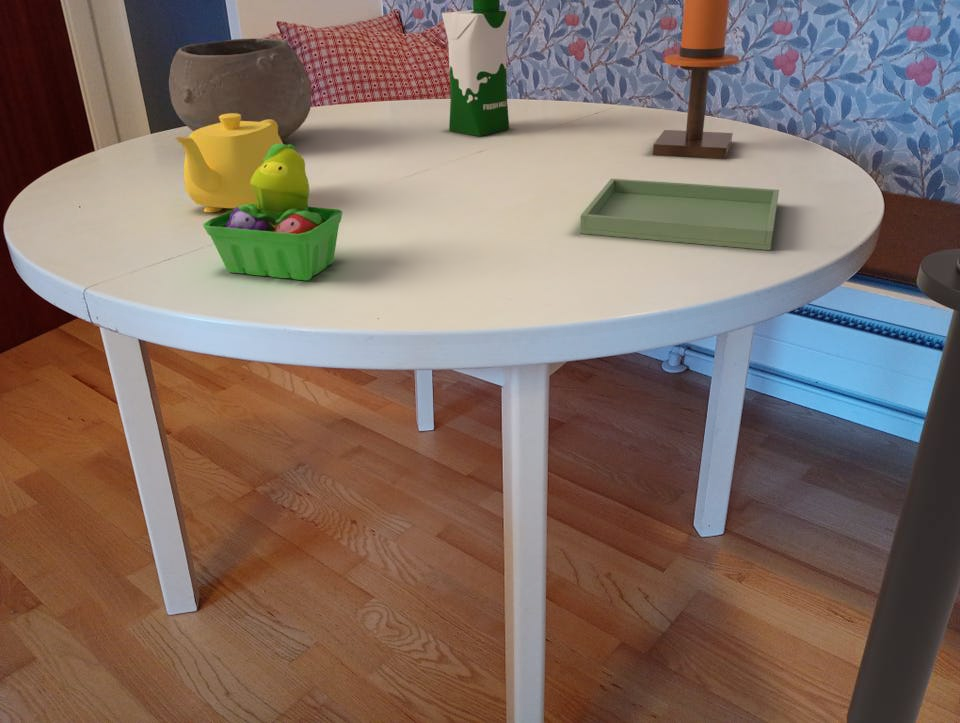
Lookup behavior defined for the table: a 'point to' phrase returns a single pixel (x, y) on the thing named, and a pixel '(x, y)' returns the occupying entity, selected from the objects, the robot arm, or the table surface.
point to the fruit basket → (277, 224)
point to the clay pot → (240, 83)
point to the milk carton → (478, 68)
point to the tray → (683, 213)
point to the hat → (703, 35)
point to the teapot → (226, 160)
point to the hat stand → (695, 125)
